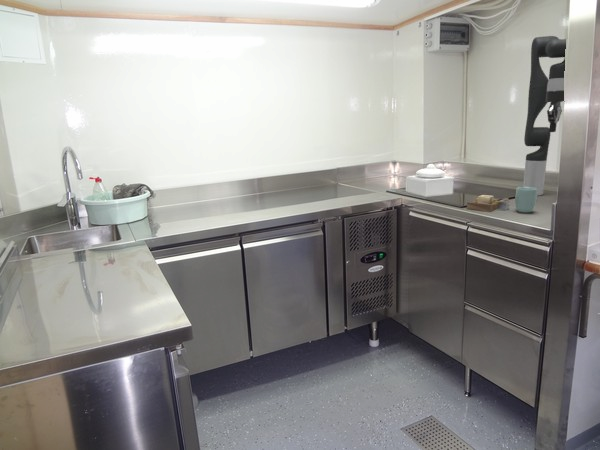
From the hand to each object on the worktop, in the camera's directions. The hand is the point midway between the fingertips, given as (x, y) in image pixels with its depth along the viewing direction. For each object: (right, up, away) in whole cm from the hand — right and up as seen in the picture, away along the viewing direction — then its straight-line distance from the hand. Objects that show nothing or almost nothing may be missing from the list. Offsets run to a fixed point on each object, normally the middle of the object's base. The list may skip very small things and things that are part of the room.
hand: (552, 132), depth 185 cm
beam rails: (-24, -32, +8) cm, 40 cm away
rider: (-27, -32, +5) cm, 42 cm away
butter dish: (-39, -23, +45) cm, 64 cm away
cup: (-14, -35, -5) cm, 38 cm away
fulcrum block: (-21, -33, +1) cm, 39 cm away
